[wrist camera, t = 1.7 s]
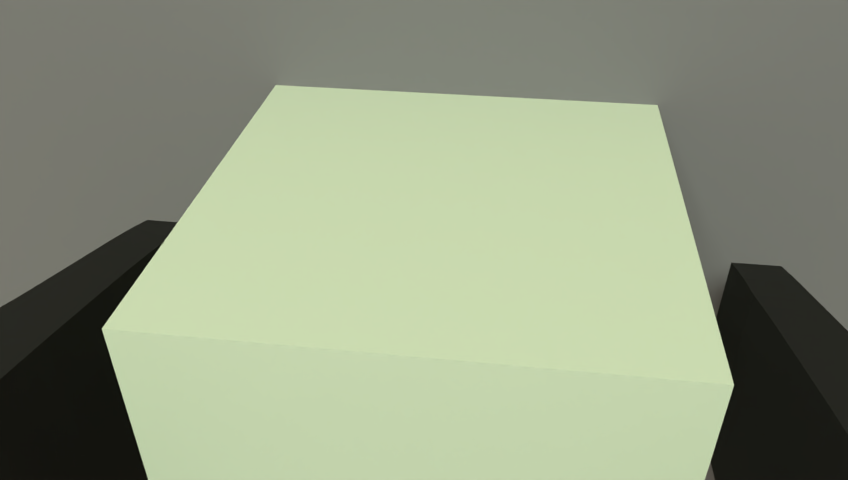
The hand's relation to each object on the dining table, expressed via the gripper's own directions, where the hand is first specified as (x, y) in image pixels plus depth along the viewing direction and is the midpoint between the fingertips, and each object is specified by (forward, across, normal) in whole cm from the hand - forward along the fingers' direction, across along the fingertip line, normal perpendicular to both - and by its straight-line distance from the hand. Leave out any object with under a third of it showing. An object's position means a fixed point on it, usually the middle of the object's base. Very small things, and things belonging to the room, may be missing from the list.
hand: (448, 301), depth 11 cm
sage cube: (+1, 0, 0) cm, 1 cm away
